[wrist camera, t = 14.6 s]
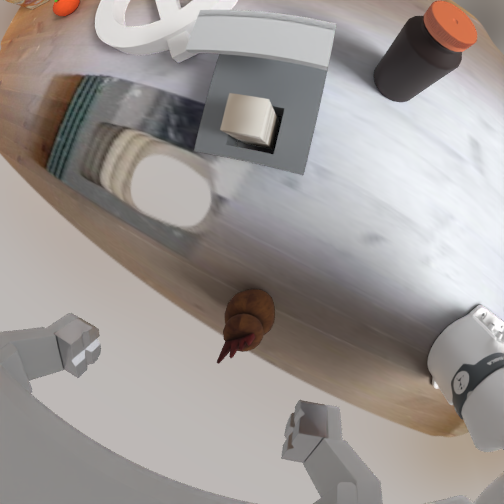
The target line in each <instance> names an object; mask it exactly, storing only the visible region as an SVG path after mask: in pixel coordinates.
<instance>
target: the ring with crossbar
mask: <svg viewBox="0 0 504 504" xmlns="http://www.w3.org/2000/svg"><path fill="white" fill-rule="evenodd" d="M155 1H156V4H157V8H158V12H159V15H160V19H161V20H159V21H156V22H153V23H150V24H147V25H142V26H135V27H129V26H126V23H125V11H126V8H127V6H128V3H129V2H130V0H101V2H100V4H99V6H98V9H97V12H96V16H95V29H96V33H97V35H98V37H99V38H100V39H101V40H102V41H103V42H104V43H106V44H108V45H110V46H112V47H114V48H115V49H117V50H119V51H121V52H123V53H126V54H130V55H150V54H156V53H160V52H164V51H167V50H170V53H171V56H172V58H173V59H174V60H175V61H177V62H178V63H180V62H182V61H184V60H186V59H188V58H190V57H193V56H195V55H197V54H198V53H189V52H188V51H186V47H187V44H188V41H189V38H190V35H191V33H192V30H193V27H194V25H195V22H196V19H197V17H198V14H199V12H200V10H231V9H232V8H233V7H234V6H235V4H236V3H237V1H238V0H192V1H191V2H190V3H188V4H187V5H186V6H184V7H183V8H181V5H180V2H179V0H155Z"/></svg>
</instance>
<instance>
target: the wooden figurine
mask: <svg viewBox="0 0 504 504" xmlns="http://www.w3.org/2000/svg"><path fill="white" fill-rule="evenodd" d="M274 319H275V308H274V303H273V300H272V298H271V296H270V295H268V294H267V293H266V292H264V291H262V290H258V289H250V290H246V291H243V292H240V293H237V294H236V295H235V296H234V297H233V298H232V299H231V300H230V302H229V303H228V305H227V308H226V312H225V324H226V325H225V327H224V330H223V335H224V340H225V344H224V346H223V348H222V351H221V353H220V356H219V358H218V360H217V363H220V362H221V361H222V360H223V359H224V357H225V356H226V355H227V354H228V353H229V352H230V358H232V357H233V356H234V354H235V353H236V351H242V352H243V351H249V350H252V349H254V348H255V347H256V346H258V345H259V344H260V342H261V340H262V338H263V335H265V334H266V333H267V332H269V331H270V330H271V328H272V326H273V323H274Z"/></svg>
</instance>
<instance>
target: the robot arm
mask: <svg viewBox="0 0 504 504" xmlns="http://www.w3.org/2000/svg"><path fill="white" fill-rule="evenodd" d="M482 313H483V314H482ZM98 337H99V329H98V328H96V327H95V326H93V325H91V324H90V323H88V322H86V321H84V320H83V319H81V318H79V317H77V316H76V315H74V314H72V313H69V314H67V315H65V316H64V317H62V318H61V319H59V320H58V321H56V322H55V323H53V324H52V325H50V326H49V327H47V328H44V327H41V328H32V329H23V330H14V331H4V332H0V504H256V503H250V502H245V501H241V500H237V499H233V498H229V497H225V496H221V495H217V494H214V493H211V492H207V491H204V490H201V489H198V488H195V487H192V486H188V485H186V484H183V483H181V482H178V481H175V480H172V479H170V478H168V477H165V476H163V475H160V474H158V473H156V472H153V471H151V470H149V469H147V468H144V467H142V466H140V465H138V464H136V463H134V462H132V461H130V460H128V459H126V458H124V457H122V456H120V455H118V454H116V453H115V452H113V451H111V450H109V449H108V448H106V447H104V446H102V445H101V444H99V443H98V442H96V441H94V440H93V439H91V438H89V437H88V436H86V435H85V434H83V433H82V432H80V431H79V430H77V429H76V428H74V427H73V426H71V425H70V424H69V423H67V422H66V421H64V420H63V419H62V418H60V417H59V416H58V415H56V414H55V413H53V412H52V411H51V410H50V409H49V408H47V407H46V406H45V405H44V404H42V403H41V402H40V401H39V400H38V399H36V398H35V397H34V396H33V395H32V394H31V392H32V387H31V385H30V382H29V380H32V379H36V378H39V377H42V376H46V375H49V374H52V373H56V372H59V371H61V370H66V371H68V372H69V373H71V374H72V375H74V376H76V377H77V378H79V377H80V376H81V375H82V374H83V373H84V372H85V371H86V370H87V365H89V364H93V363H94V362H95V361H96V360H97V359H98V357H99V355H100V352H101V345H100V343H99V341H98V339H97V338H98ZM427 364H428V369H429V372H430V373H431V375H432V385H433V386H434V388H439V389H440V390H441V392H442V393H443V395H444V396H445V398H446V399H447V401H448V403H449V404H450V405H454V407H455V410H456V412H457V413H458V415H459V417H460V418H461V419H463V420H464V422H465V424H466V426H467V428H468V431H469V433H470V435H471V437H472V440H473V442H474V445H475V446H476V448H477V449H479V450H481V451H484V452H491V451H496V450H499V449H503V450H504V321H503V320H501V319H500V318H499V317H497V316H496V315H495V314H493V313H492V312H491V311H489V310H488V309H487V308H485V307H484V306H482V305H478V306H477V307H475V308H474V309H473V310H472V311H471V312H470V313H469V314H468V315H466V316H464V317H462V318H460V319H458V320H456V321H455V322H453V323H452V324H450V325H449V326H448V327H447V328H446V329H445V330H444V331H443V332H442V333H441V334H440V335H439V337H438V338H437V339H436V341H435V342H434V344H433V346H432V348H431V350H430V352H429V356H428V362H427ZM285 437H286V441H285V443H284V444H283V450H282V457H281V458H282V459H286V460H291V461H297V462H302V463H303V464H304V466H305V468H306V470H307V472H308V474H309V476H310V477H311V479H312V481H313V483H314V485H315V487H316V489H317V491H318V493H319V494H320V496H321V498H320V499H319V500H317V501H316V502H315V503H313V504H383V503H382V492H381V483H380V481H379V479H378V478H377V477H376V476H375V475H374V474H373V472H372V471H371V470H370V469H369V468H368V467H367V465H366V464H365V463H364V462H363V461H362V459H361V458H360V457H359V456H358V455H357V453H356V452H355V451H354V450H353V449H352V447H351V446H350V445H349V444H348V442H347V441H345V440H342V428H341V416H340V408H339V407H337V406H330V405H324V404H318V403H312V402H307V401H302V400H299V401H298V403H297V404H296V406H295V412H294V413H292V414H291V415H290V418H289V420H288V422H287V425H286V429H285ZM425 504H504V472H503V473H502V474H501V475H500V476H499V477H497V478H496V479H495V480H494V481H493V482H492V483H491V484H490V485H489V486H488V487H487V488H486V489H485V490H484V491H483V492H482V493H481V494H480V496H479V497H478V498H477V499H476V501H474V502H473V501H472V500H471V499H469V498H468V497H466V496H463V495H460V496H454V497H451V498H447V499H443V500H439V501H435V502H431V503H425Z"/></svg>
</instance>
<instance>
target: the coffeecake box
mask: <svg viewBox="0 0 504 504" xmlns="http://www.w3.org/2000/svg"><path fill="white" fill-rule="evenodd" d="M4 1H8V2H11V3H14V4H17V5H20V6H24V7H27V8H29V9H32V10H33V9H34V8H36V7H38V6H40V5H42V4H43V3H45V2H47V1H49V0H4Z"/></svg>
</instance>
